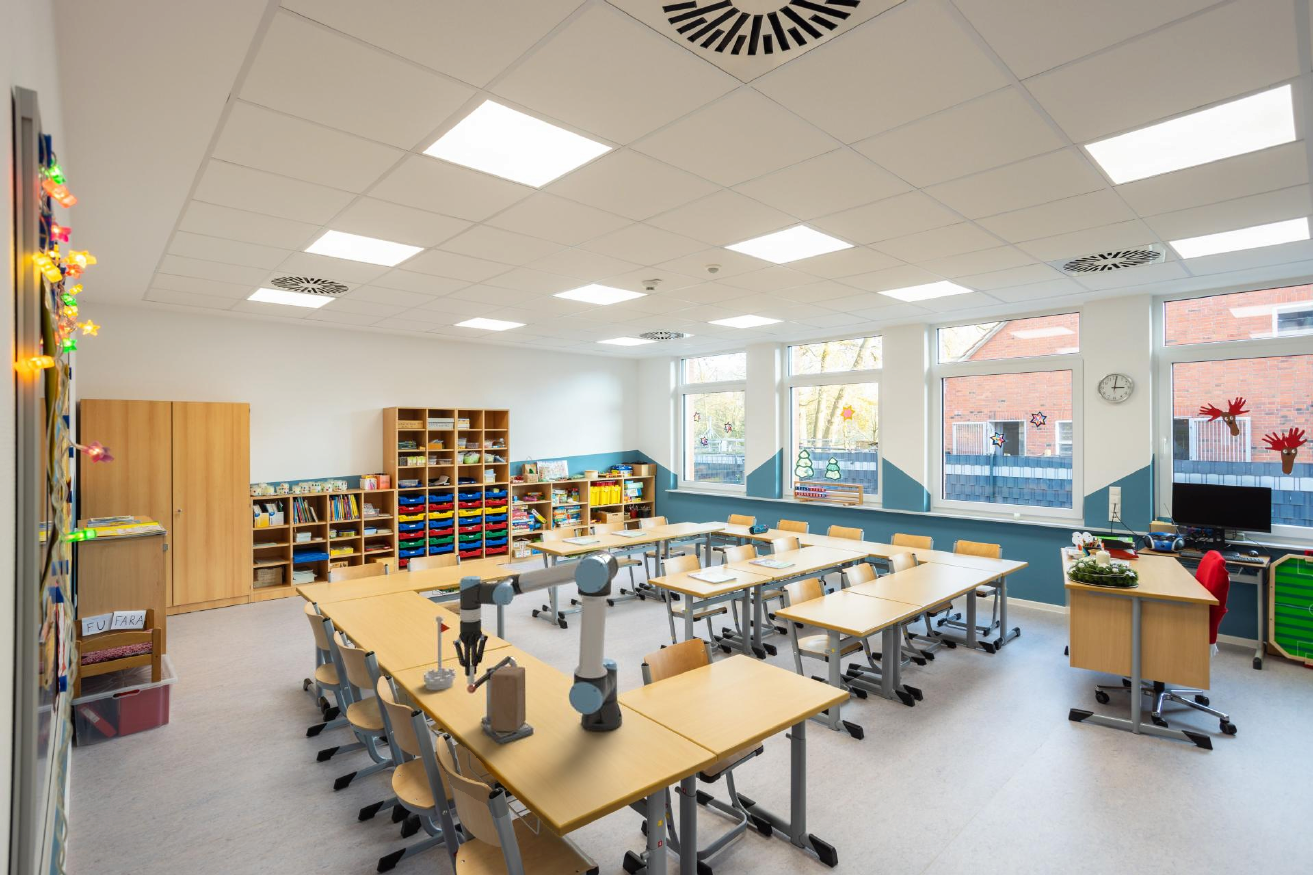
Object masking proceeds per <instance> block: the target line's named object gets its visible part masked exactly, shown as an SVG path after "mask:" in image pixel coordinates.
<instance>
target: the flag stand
mask: <svg viewBox="0 0 1313 875" xmlns="http://www.w3.org/2000/svg"><path fill="white" fill-rule="evenodd" d="M443 620H444V617H443V616H442V615H437V616H436V617H435V621H436V623H437V670H436V671H435V669H434V668H433V669H430V670H428V672H424V674H423V682H424V683H425V685H426V686H425V687H426V689H428V690H430V691H441V690H445V689H446V690H447V689H449V688H451V687H452V686H453V685H454V680H455V678H456V675H457V674H456V670H455V668H452V667H449V668H448V669H446V667H443V666H442V663H443V662H442V659H443V658H442V655H443V654H442V652H443V651H442V633H444V632H445V631H448V630H449V629H451V627H449V626H447V625H446V624H444V623H443Z"/></svg>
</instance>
